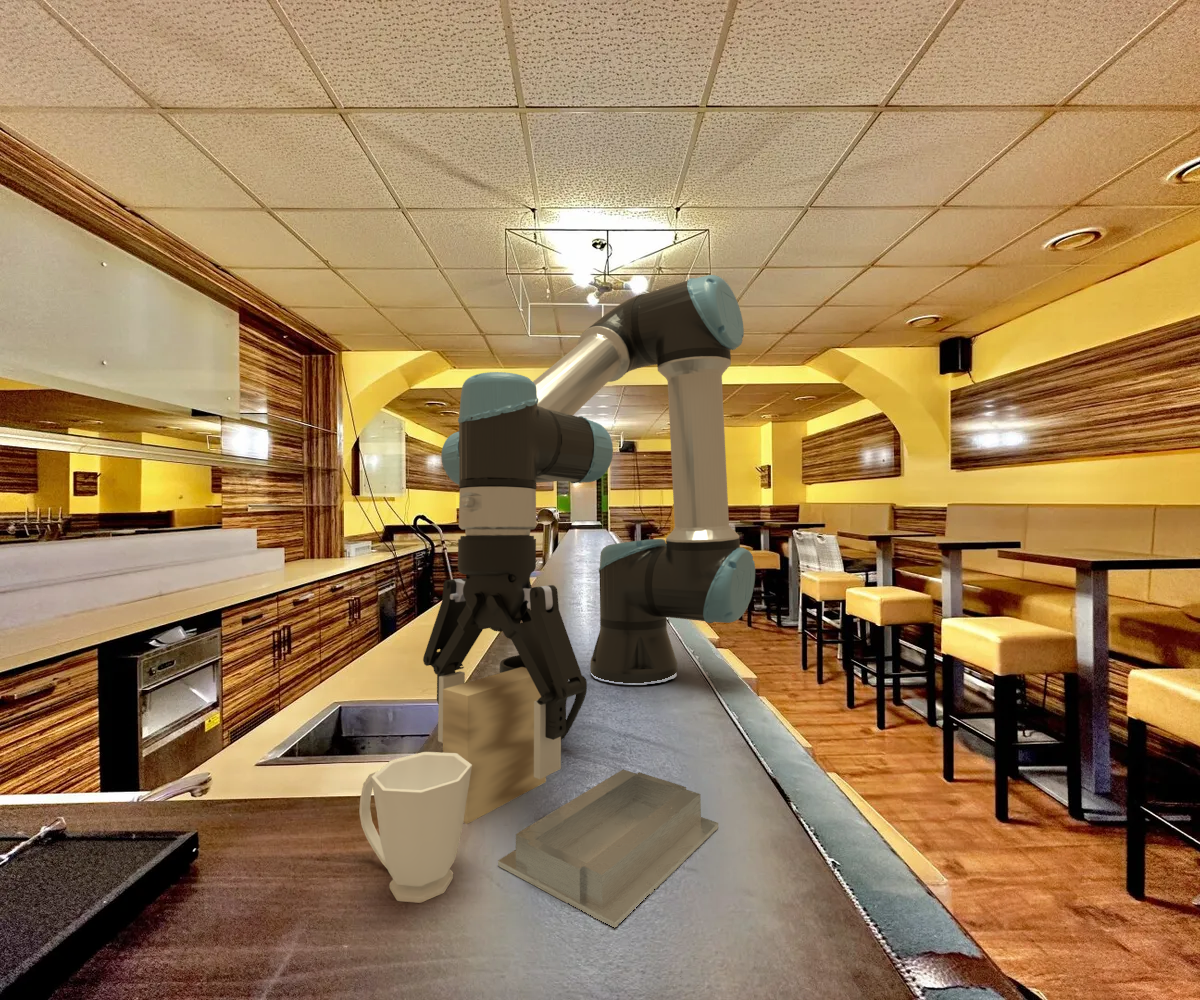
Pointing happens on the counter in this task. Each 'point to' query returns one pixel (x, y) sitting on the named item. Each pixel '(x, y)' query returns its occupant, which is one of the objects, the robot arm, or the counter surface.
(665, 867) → the beige piece
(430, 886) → the cup
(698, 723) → the counter surface
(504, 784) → the wooden block
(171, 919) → the counter surface
